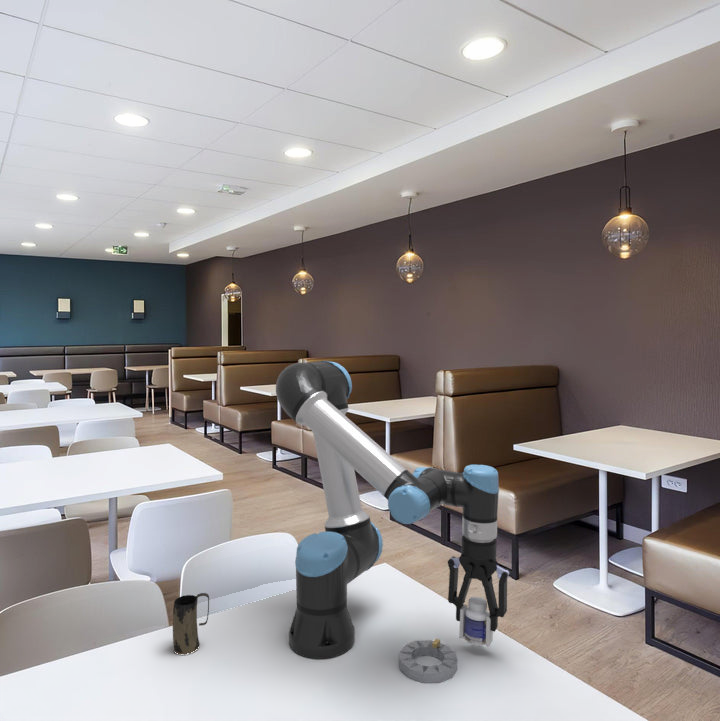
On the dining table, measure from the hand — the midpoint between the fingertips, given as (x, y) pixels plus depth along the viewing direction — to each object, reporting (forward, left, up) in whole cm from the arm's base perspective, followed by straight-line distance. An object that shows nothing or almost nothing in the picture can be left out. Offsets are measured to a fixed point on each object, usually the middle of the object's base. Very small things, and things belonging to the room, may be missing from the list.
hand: (475, 639), depth 122 cm
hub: (-7, -10, -3) cm, 13 cm away
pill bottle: (0, 0, 0) cm, 1 cm away
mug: (-56, -30, -3) cm, 64 cm away
